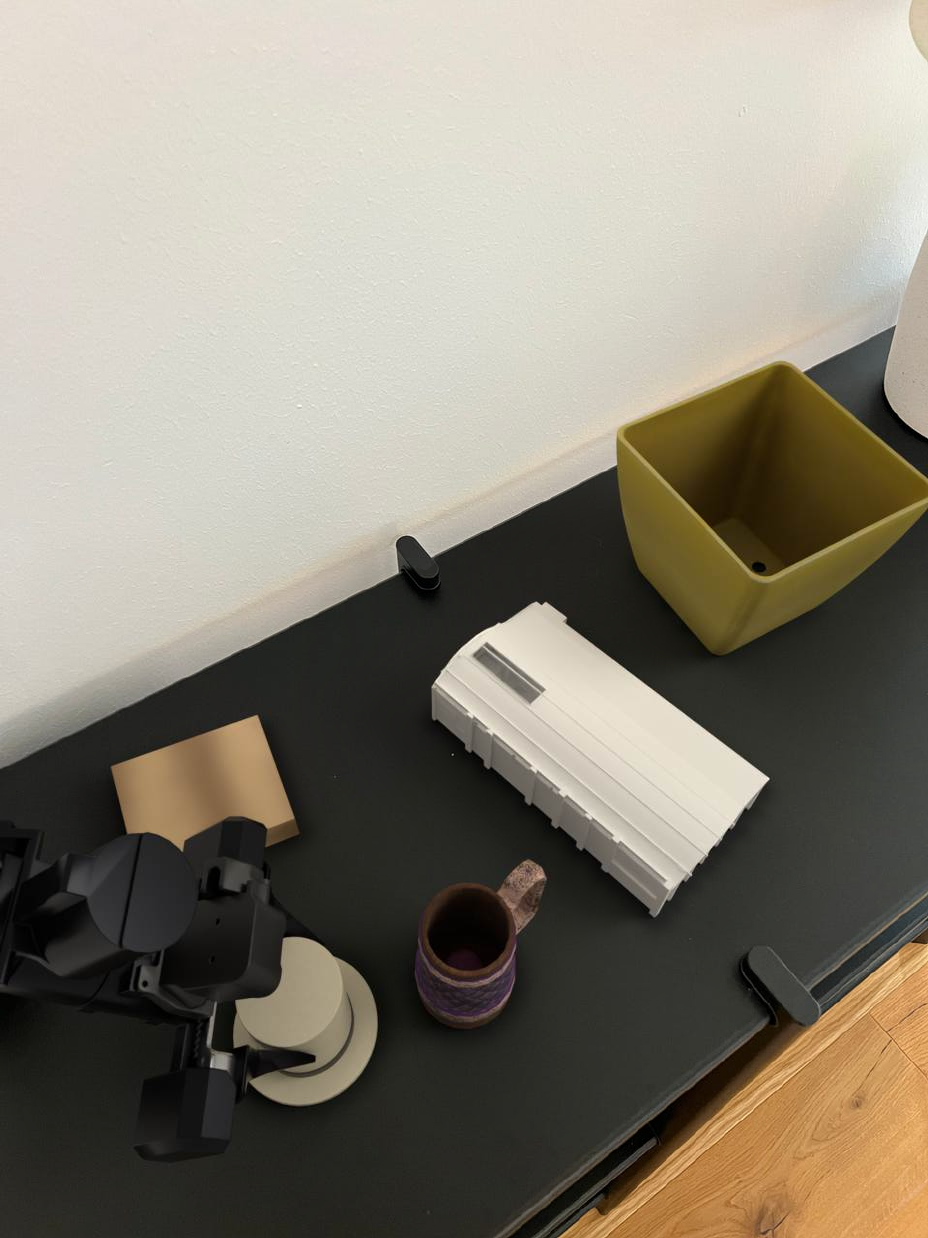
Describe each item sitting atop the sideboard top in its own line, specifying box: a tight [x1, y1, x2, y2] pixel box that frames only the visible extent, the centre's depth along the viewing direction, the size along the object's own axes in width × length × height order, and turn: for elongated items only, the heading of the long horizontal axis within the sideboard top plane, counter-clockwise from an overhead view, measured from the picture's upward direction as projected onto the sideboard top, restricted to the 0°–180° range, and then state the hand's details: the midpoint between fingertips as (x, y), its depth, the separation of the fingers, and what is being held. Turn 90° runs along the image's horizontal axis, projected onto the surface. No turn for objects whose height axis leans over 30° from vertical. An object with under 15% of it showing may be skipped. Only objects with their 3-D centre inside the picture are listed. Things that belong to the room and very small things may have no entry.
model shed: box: [431, 601, 770, 919], centre depth 77 cm, size 25×15×7 cm, turn 46°
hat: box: [232, 937, 379, 1107], centre depth 63 cm, size 10×10×10 cm
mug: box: [414, 858, 548, 1030], centre depth 65 cm, size 10×7×12 cm
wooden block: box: [110, 714, 300, 852], centre depth 75 cm, size 12×10×3 cm
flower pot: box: [615, 360, 928, 656], centre depth 84 cm, size 19×19×17 cm
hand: (316, 1003), depth 61 cm, fingers closed on hat, 6 cm apart
